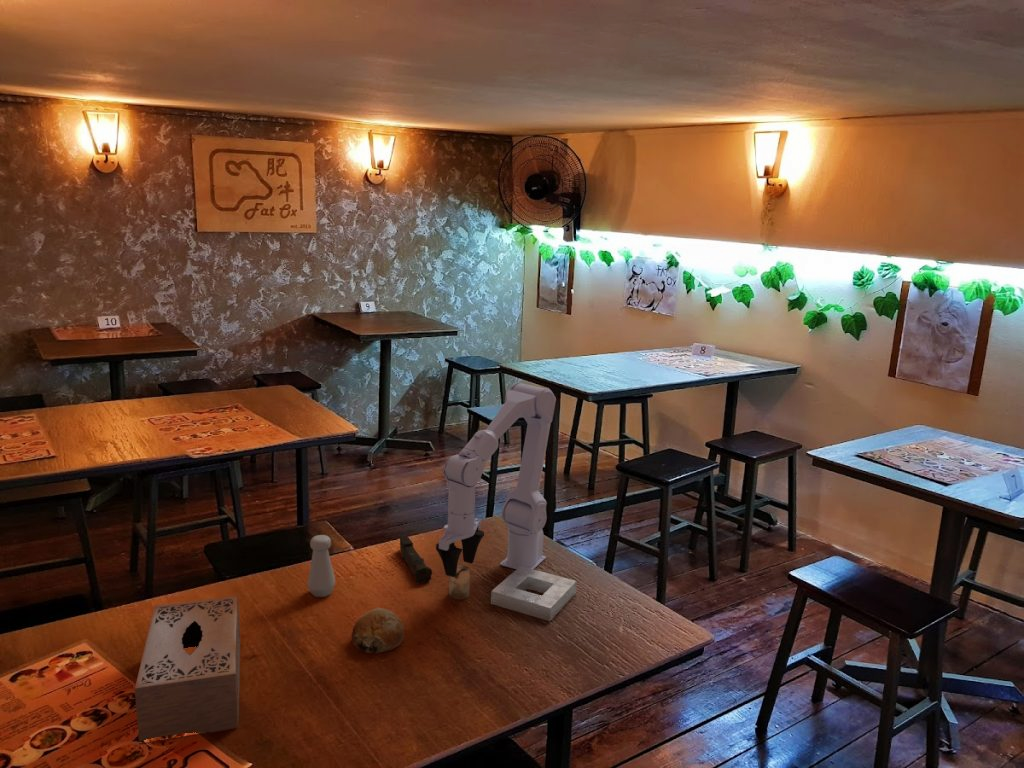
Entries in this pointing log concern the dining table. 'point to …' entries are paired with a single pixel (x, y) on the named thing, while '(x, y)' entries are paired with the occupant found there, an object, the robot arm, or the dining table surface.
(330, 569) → the salt shaker
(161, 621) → the tissue box cover
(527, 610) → the square stone frame
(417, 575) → the hand tool
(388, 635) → the bread roll
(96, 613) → the dining table surface
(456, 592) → the cylinder
